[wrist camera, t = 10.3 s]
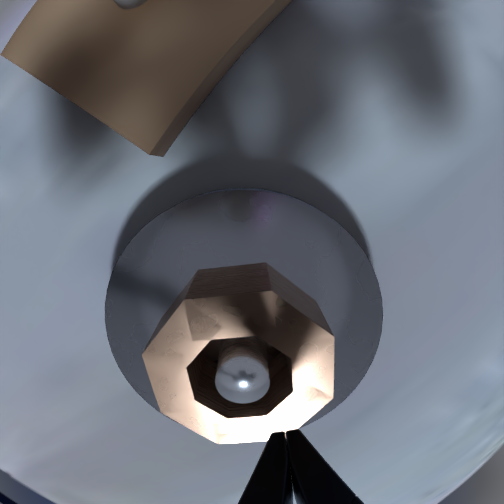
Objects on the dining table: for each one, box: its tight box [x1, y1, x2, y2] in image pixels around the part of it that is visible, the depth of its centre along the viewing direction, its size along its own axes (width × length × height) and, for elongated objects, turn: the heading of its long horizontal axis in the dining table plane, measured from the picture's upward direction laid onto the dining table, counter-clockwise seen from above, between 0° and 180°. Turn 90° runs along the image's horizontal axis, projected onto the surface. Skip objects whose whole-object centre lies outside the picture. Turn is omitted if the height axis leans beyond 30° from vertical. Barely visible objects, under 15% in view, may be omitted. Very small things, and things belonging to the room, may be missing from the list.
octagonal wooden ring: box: [142, 262, 335, 444], centre depth 12 cm, size 6×6×3 cm
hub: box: [105, 188, 383, 428], centre depth 12 cm, size 12×12×4 cm
